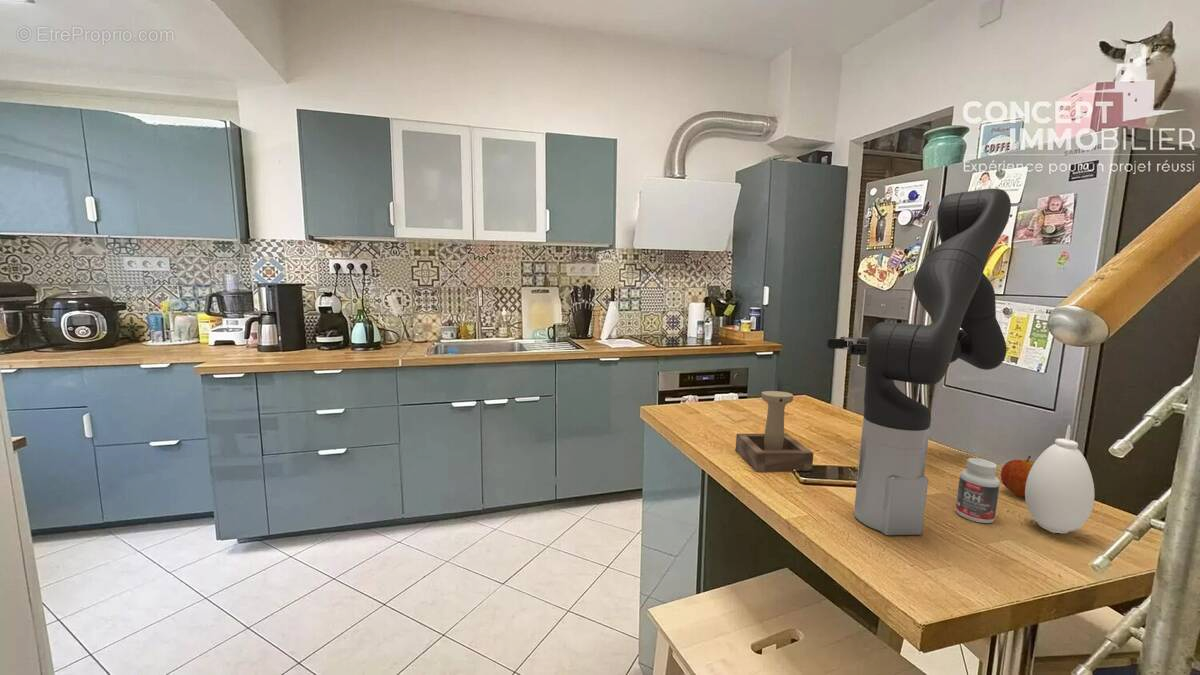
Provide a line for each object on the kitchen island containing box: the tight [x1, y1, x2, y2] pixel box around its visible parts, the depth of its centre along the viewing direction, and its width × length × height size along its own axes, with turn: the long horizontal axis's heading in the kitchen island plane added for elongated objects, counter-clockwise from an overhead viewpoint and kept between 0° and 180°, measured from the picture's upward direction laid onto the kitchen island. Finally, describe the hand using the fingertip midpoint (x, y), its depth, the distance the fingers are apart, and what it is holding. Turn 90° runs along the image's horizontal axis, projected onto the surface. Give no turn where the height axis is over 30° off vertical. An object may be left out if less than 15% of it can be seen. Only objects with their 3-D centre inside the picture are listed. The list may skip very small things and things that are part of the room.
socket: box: [735, 432, 814, 473], centre depth 104 cm, size 12×12×4 cm
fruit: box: [1000, 455, 1035, 499], centre depth 89 cm, size 7×7×8 cm
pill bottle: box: [955, 457, 1001, 524], centre depth 81 cm, size 5×5×10 cm
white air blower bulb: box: [1024, 424, 1095, 534], centre depth 76 cm, size 8×8×18 cm
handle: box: [761, 390, 794, 450], centre depth 104 cm, size 5×6×15 cm
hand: (837, 346), depth 104 cm, fingers open, 8 cm apart
